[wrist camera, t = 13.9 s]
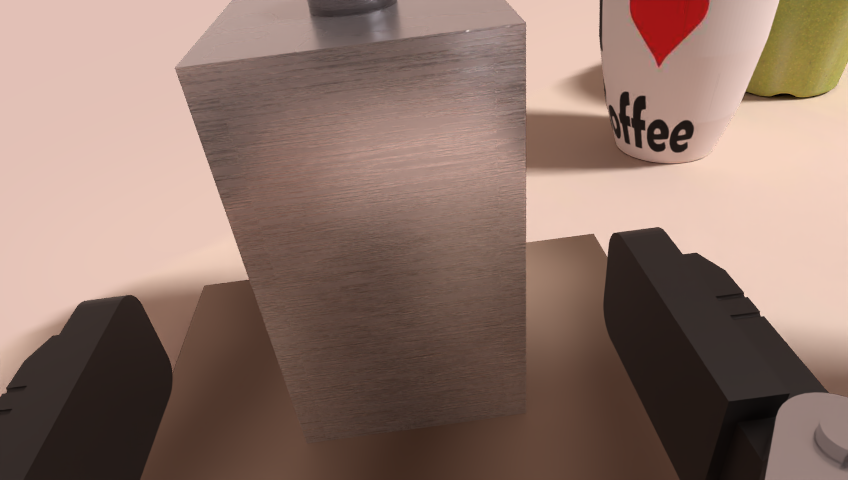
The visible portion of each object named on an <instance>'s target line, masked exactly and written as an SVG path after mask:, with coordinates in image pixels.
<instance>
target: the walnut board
mask: <svg viewBox="0 0 848 480" xmlns="http://www.w3.org/2000/svg"><path fill="white" fill-rule="evenodd" d="M607 259H608V258H607V256H606V254H605V252H604V251H603V249H602V247H601V246H600V244H599V242H598V241H597V239H596V237H595V236H594V234H588V235H581V236H573V237H566V238H558V239H551V240H543V241H536V242H528V243H526V413H524V414H517V415H510V416H502V417H495V418H488V419H481V420H474V421H466V422H459V423H452V424H445V425H438V426H430V427H423V428H416V429H409V430H402V431H394V432H387V433H380V434H373V435H366V436H358V437H351V438H344V439H337V440H330V441H322V442H315V443H308V444H307V442H306V440H305V437H304V434H303V431H302V428H301V425H300V422H299V420H298V417H297V414H296V411H295V408H294V405H293V403H292V400H291V397H290V394H289V391H288V388H287V385H286V383H285V380H284V377H283V374H282V371H281V368H280V365H279V363H278V360H277V357H276V354H275V351H274V348H273V346H272V343H271V340H270V337H269V334H268V331H267V328H266V326H265V323H264V320H263V317H262V314H261V311H260V309H259V306H258V303H257V300H256V297H255V294H254V291H253V289H252V286H251V283H250V280H244V281H236V282H229V283H221V284H214V285H206V286H204V288H203V291H202V294H201V296H200V299H199V302H198V305H197V307H196V310H195V313H194V316H193V318H192V321H191V324H190V327H189V329H188V332H187V335H186V338H185V340H184V343H183V346H182V349H181V351H180V354H179V357H178V360H177V362H176V365H175V368H174V371H173V374H172V377H173V382H172V391H171V395H170V398H169V401H168V403H167V406H166V409H165V412H164V415H163V417H162V420H161V423H160V426H159V428H158V431H157V434H156V437H155V440H154V442H153V445H152V448H151V451H150V454H149V456H148V459H147V462H146V465H145V467H144V470H143V473H142V476H141V479H140V480H680V479H679V477H678V475H677V473H676V471H675V469H674V467H673V465H672V463H671V461H670V459H669V457H668V455H667V453H666V451H665V449H664V447H663V445H662V443H661V441H660V439H659V436H658V434H657V432H656V430H655V428H654V426H653V424H652V422H651V420H650V418H649V416H648V414H647V412H646V410H645V408H644V406H643V404H642V402H641V400H640V398H639V396H638V394H637V392H636V390H635V388H634V386H633V384H632V382H631V380H630V378H629V376H628V374H627V372H626V370H625V368H624V366H623V364H622V361H621V359H620V357H619V355H618V353H617V351H616V349H615V347H614V345H613V343H612V341H611V339H610V337H609V334H608V331H607V328H606V324H605V319H604V311H603V300H604V290H605V280H606V270H607Z"/></svg>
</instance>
